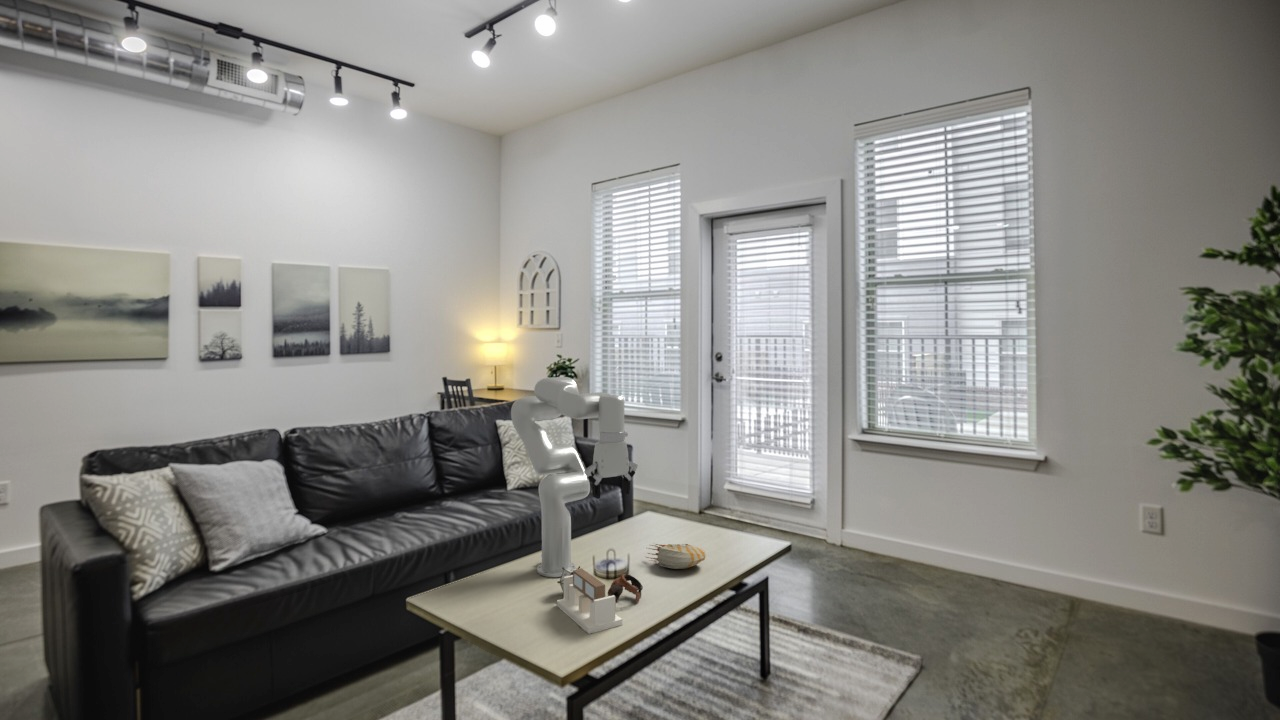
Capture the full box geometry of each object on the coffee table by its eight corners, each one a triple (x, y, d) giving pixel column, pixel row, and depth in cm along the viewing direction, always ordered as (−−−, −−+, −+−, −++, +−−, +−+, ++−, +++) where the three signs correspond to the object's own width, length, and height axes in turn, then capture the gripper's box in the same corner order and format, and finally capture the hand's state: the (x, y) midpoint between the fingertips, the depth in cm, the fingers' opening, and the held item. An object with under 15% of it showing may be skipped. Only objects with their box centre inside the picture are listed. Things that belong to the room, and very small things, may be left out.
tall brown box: (572, 585, 178) (572, 570, 178) (582, 583, 179) (582, 568, 179) (595, 603, 166) (595, 587, 166) (605, 601, 167) (605, 584, 167)
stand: (556, 605, 179) (556, 578, 178) (588, 598, 184) (588, 571, 184) (588, 633, 162) (588, 603, 161) (622, 624, 167) (622, 595, 167)
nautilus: (634, 566, 211) (659, 556, 223) (689, 577, 198) (712, 565, 211) (634, 543, 211) (659, 534, 223) (689, 552, 199) (712, 542, 211)
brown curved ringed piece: (614, 592, 189) (628, 569, 189) (636, 613, 184) (651, 590, 184) (593, 596, 179) (608, 572, 179) (616, 618, 174) (632, 593, 174)
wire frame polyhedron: (564, 607, 187) (546, 577, 188) (586, 590, 192) (568, 561, 193) (574, 602, 179) (555, 572, 181) (597, 584, 184) (578, 555, 186)
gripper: (630, 433, 191) (630, 489, 191) (579, 438, 182) (579, 496, 182) (643, 436, 184) (643, 494, 185) (590, 441, 175) (590, 502, 176)
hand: (611, 495), depth 183 cm, fingers open, 9 cm apart
